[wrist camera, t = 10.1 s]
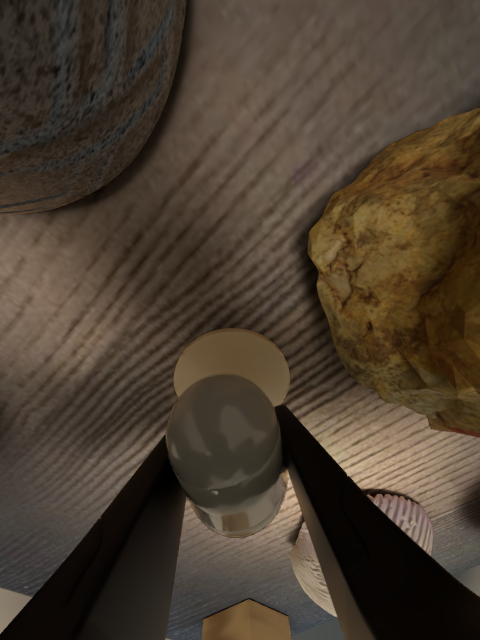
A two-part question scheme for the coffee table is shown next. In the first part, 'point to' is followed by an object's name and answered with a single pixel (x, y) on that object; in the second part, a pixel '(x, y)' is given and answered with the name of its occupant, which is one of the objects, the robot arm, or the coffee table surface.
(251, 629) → the stand
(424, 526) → the seashell
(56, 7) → the vase
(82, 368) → the coffee table surface
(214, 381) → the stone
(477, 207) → the rock
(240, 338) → the coaster
